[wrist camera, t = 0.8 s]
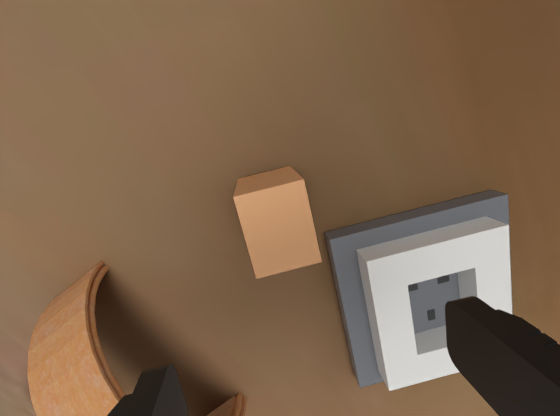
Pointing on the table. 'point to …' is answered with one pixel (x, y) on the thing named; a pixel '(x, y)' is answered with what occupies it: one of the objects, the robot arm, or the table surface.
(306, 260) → the cardboard parcel
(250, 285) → the table surface
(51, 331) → the arch
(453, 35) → the table surface
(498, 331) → the robot arm
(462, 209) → the socket plate
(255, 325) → the table surface
